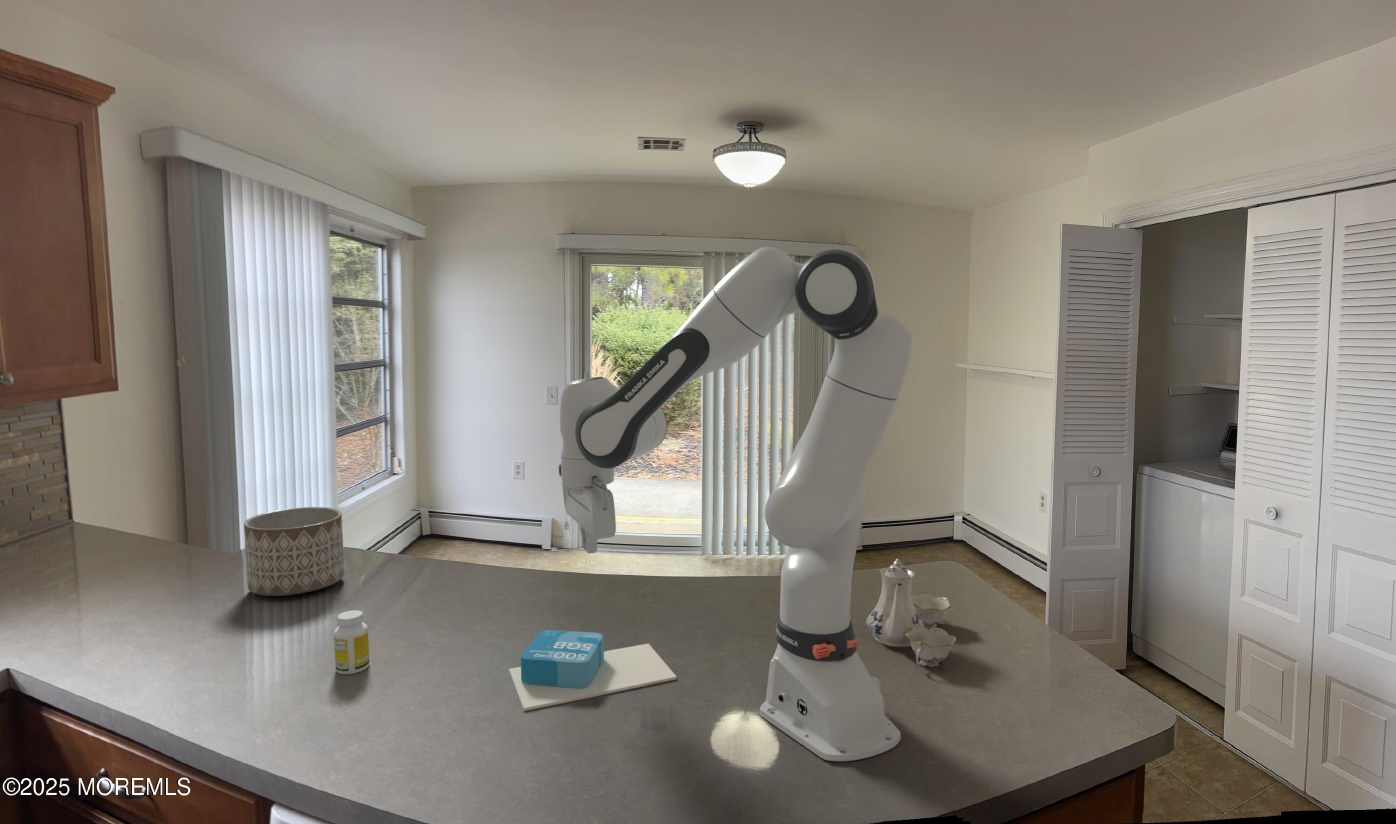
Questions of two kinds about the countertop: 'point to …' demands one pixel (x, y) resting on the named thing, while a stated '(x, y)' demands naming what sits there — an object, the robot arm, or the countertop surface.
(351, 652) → the supplement bottle
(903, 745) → the countertop surface
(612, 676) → the mat
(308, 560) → the planter
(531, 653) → the data package
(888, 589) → the chinaware
